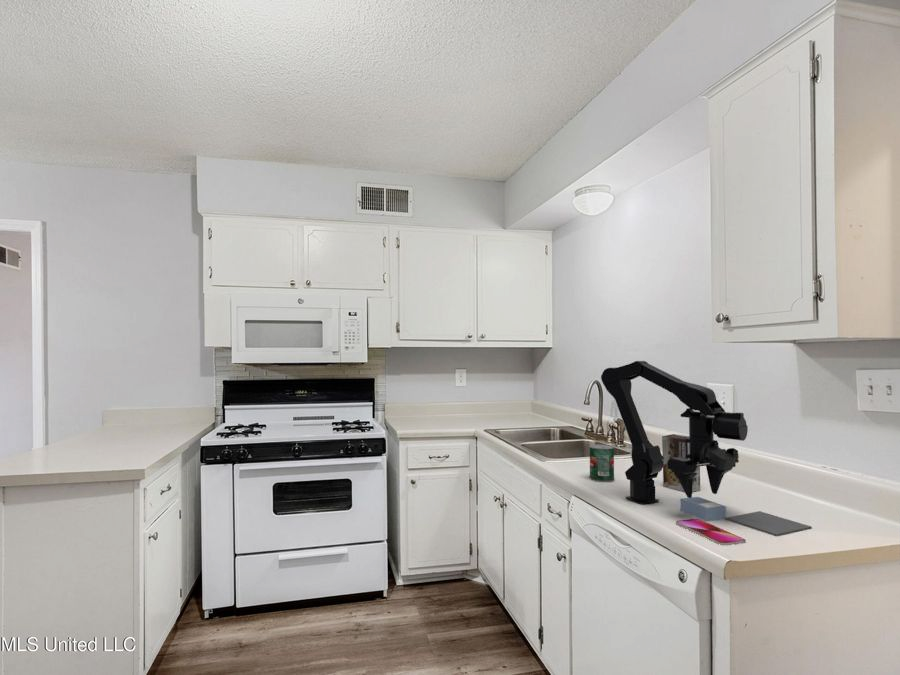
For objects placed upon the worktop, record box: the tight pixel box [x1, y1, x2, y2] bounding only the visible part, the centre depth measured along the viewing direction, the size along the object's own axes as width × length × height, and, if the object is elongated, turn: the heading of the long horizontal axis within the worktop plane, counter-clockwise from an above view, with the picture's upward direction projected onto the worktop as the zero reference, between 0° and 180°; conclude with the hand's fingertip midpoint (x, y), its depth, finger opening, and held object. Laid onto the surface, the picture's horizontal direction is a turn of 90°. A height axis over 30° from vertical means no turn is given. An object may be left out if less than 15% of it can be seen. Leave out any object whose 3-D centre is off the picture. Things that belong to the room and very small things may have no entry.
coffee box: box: [661, 433, 701, 493], centre depth 158 cm, size 9×6×16 cm
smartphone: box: [675, 518, 747, 546], centre depth 119 cm, size 7×1×15 cm
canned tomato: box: [589, 443, 615, 483], centre depth 169 cm, size 8×8×11 cm
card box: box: [679, 496, 727, 522], centre depth 132 cm, size 9×6×4 cm, turn 18°
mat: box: [724, 510, 813, 537], centre depth 125 cm, size 13×13×1 cm
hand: (702, 495), depth 132 cm, fingers open, 9 cm apart
